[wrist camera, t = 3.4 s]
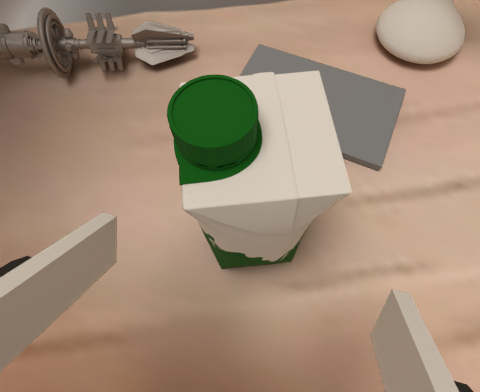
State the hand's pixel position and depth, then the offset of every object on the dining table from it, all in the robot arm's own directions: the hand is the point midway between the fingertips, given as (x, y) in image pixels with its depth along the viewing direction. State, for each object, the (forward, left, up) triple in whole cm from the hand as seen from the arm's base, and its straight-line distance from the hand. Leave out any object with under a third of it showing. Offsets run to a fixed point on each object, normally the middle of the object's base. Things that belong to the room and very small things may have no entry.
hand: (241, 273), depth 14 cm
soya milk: (-2, +6, -16) cm, 18 cm away
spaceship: (-34, +17, -16) cm, 42 cm away
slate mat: (-2, +25, -16) cm, 30 cm away
